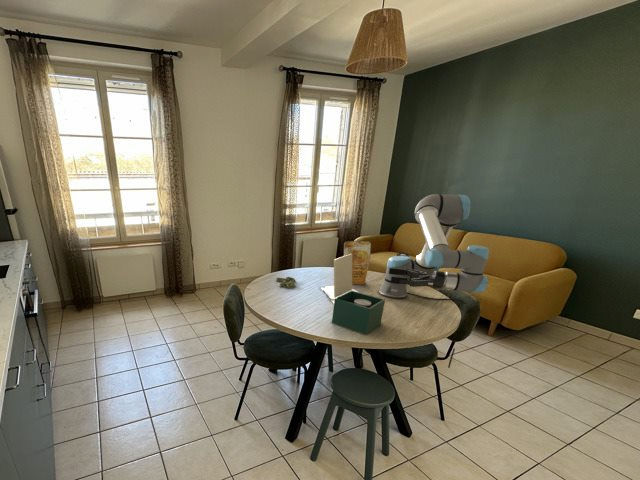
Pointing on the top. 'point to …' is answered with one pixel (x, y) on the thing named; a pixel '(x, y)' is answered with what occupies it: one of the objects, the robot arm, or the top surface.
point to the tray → (332, 292)
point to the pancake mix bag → (358, 259)
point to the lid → (342, 275)
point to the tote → (357, 312)
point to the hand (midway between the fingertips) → (389, 275)
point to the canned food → (363, 302)
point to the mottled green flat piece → (289, 285)
